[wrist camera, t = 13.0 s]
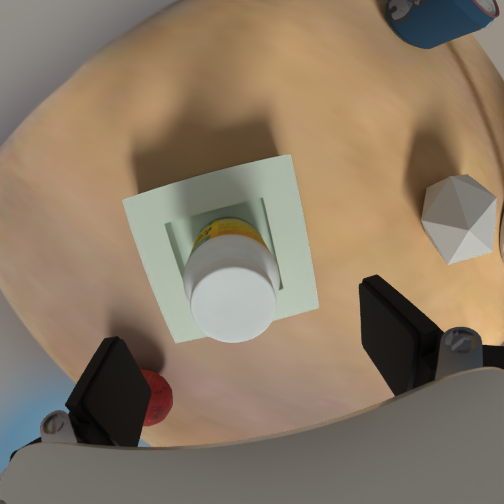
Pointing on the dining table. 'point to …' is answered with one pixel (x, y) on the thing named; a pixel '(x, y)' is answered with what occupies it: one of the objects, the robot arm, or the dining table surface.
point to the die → (459, 218)
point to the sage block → (215, 206)
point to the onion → (157, 398)
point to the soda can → (438, 19)
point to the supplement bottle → (231, 281)
